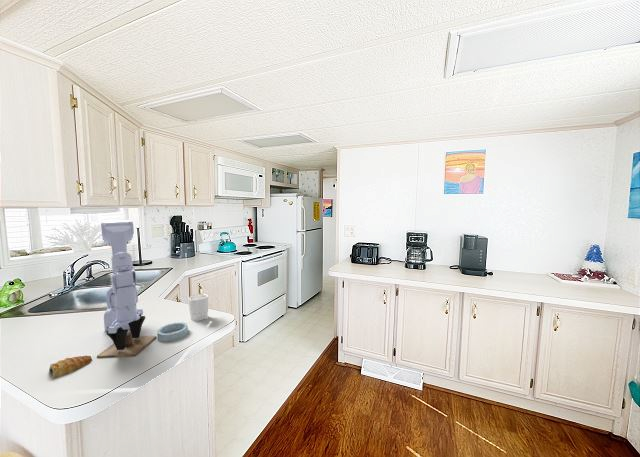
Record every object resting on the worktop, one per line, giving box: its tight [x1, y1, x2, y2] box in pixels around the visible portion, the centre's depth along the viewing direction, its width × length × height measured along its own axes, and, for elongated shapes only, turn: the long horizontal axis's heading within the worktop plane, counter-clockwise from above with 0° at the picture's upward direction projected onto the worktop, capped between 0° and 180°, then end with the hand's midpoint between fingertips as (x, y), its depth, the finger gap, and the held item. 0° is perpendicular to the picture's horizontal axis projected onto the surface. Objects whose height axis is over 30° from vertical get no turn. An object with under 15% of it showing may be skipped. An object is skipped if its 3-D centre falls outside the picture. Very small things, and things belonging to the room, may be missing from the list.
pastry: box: [48, 355, 93, 379], centre depth 78 cm, size 9×7×4 cm
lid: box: [96, 332, 157, 359], centre depth 89 cm, size 12×12×5 cm
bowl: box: [156, 321, 189, 342], centre depth 98 cm, size 10×10×3 cm
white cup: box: [187, 293, 209, 322], centre depth 113 cm, size 8×8×10 cm
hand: (128, 343), depth 89 cm, fingers open, 7 cm apart
